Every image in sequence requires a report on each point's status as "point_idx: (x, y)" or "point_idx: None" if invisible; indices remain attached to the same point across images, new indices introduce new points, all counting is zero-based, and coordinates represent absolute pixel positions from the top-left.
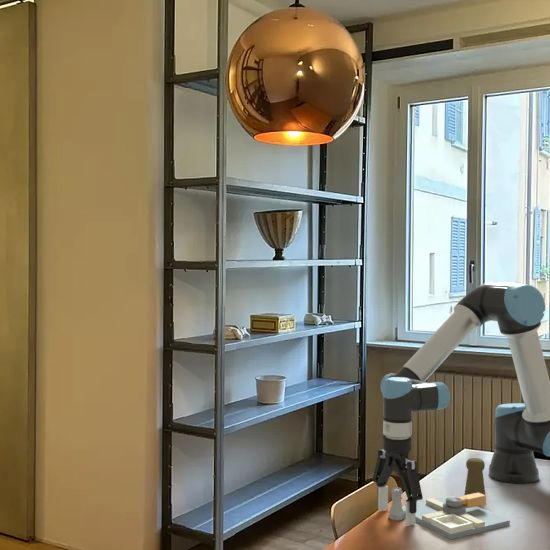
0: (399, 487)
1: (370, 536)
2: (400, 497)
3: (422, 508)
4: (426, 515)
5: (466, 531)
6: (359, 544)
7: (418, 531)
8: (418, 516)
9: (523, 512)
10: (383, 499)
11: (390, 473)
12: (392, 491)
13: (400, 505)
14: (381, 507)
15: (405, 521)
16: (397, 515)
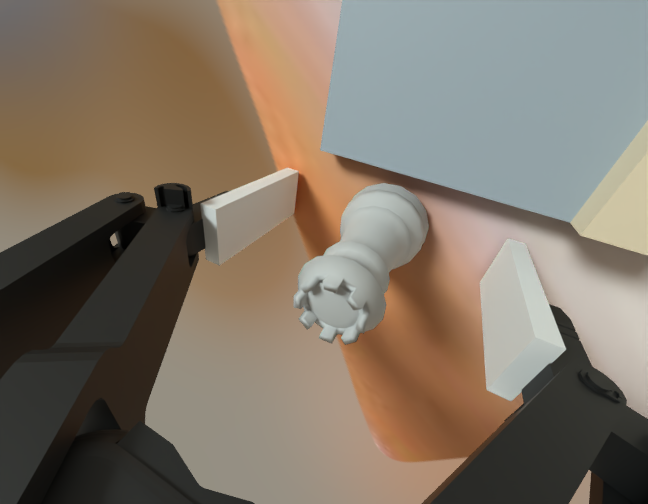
0: (323, 280)
1: (422, 407)
2: (380, 280)
3: (461, 12)
4: (624, 216)
5: None
6: (432, 455)
7: (587, 307)
8: (517, 187)
9: None
10: (266, 213)
11: (152, 303)
12: (326, 329)
13: (396, 256)
14: (286, 210)
15: (480, 291)
16: (407, 262)
